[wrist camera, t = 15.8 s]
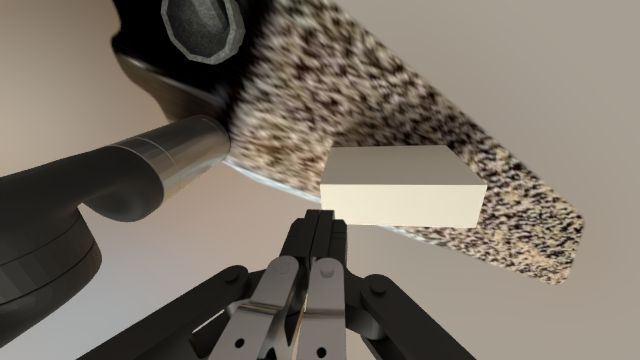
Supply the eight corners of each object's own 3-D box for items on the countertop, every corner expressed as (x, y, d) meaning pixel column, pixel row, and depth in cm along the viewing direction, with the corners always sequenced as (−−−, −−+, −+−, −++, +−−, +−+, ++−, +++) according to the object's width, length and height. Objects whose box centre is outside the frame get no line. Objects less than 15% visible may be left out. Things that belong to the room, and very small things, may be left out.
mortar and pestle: (243, 75, 38) (199, 80, 27) (189, 43, 37) (122, 36, 26) (269, -2, 33) (227, -31, 22) (207, -41, 32) (133, -91, 21)
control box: (439, 177, 41) (475, 228, 29) (332, 177, 44) (323, 223, 32) (445, 145, 39) (487, 185, 26) (330, 147, 42) (320, 184, 29)
